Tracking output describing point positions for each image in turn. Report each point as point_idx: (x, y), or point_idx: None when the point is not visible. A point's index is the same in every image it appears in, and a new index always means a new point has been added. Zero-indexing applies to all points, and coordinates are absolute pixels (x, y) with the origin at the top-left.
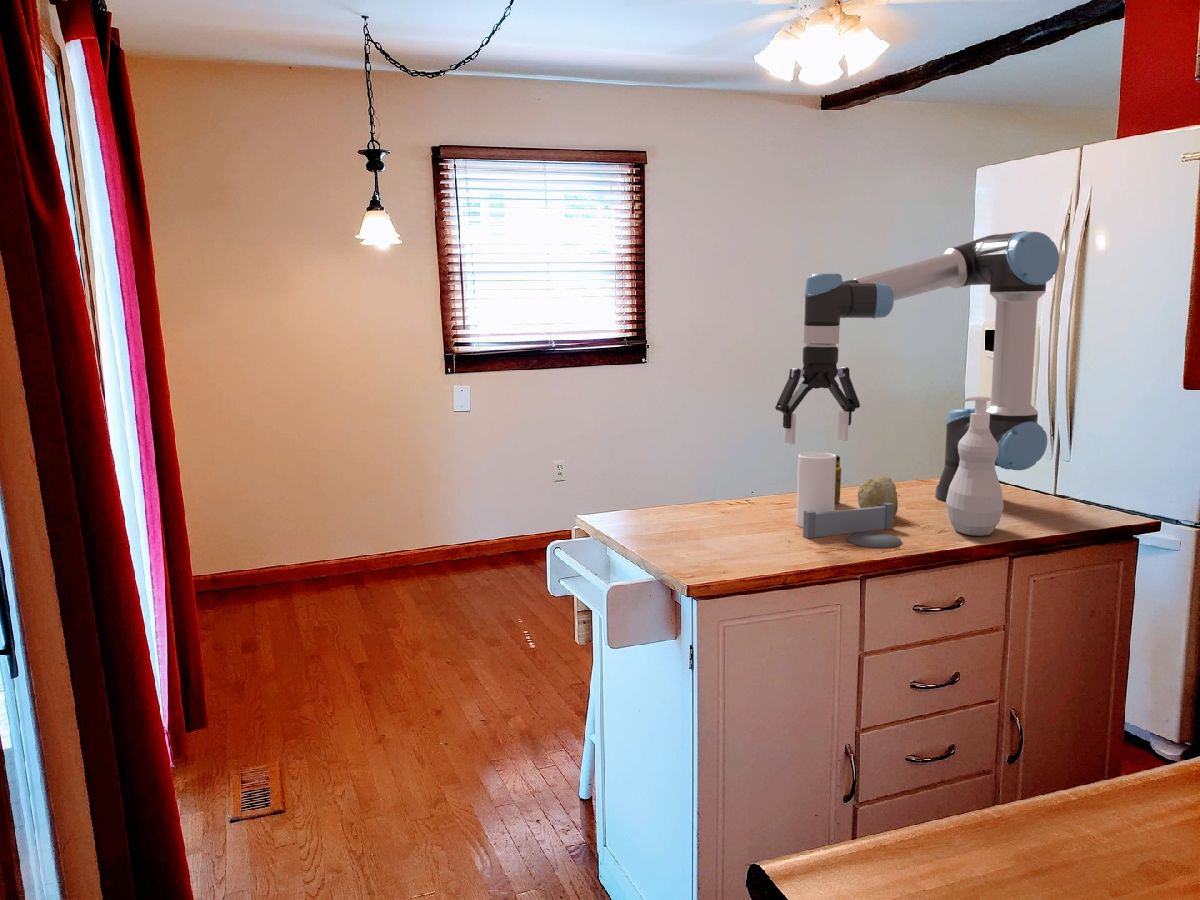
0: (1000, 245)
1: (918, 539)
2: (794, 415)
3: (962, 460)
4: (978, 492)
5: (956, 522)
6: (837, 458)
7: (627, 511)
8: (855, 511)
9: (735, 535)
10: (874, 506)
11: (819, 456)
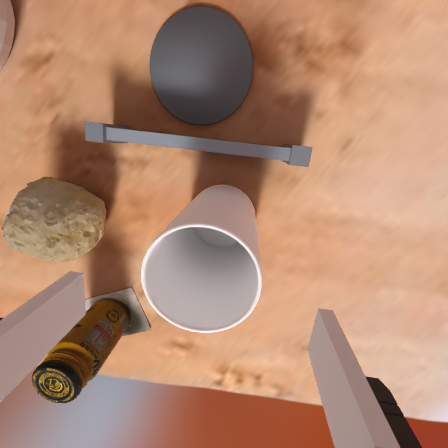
0: None
1: (115, 35)
2: (382, 440)
3: None
4: None
5: (7, 8)
6: (46, 364)
7: (431, 418)
8: (185, 136)
9: (397, 226)
10: (93, 196)
11: (166, 304)
